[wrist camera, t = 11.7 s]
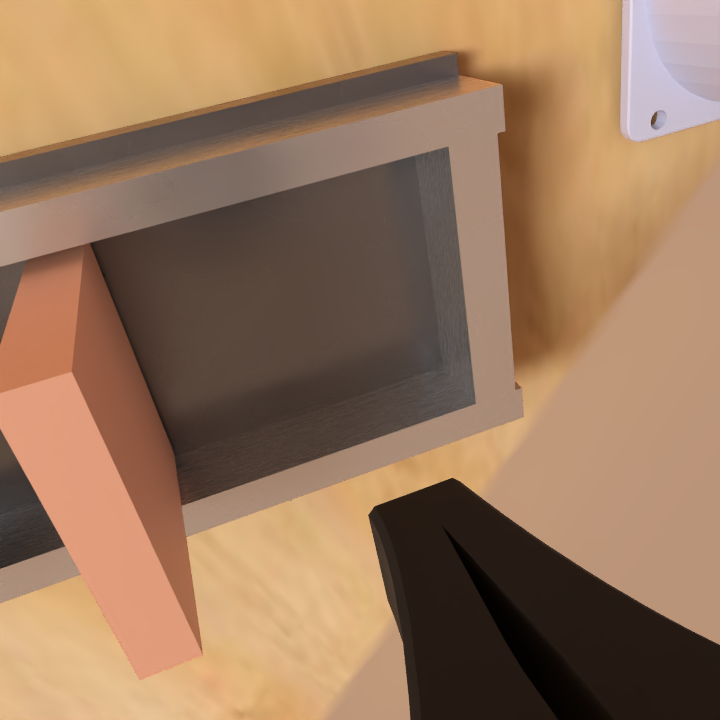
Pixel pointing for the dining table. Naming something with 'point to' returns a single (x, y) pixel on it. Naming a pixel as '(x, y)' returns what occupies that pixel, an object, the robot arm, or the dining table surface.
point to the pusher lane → (283, 284)
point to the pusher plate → (99, 455)
